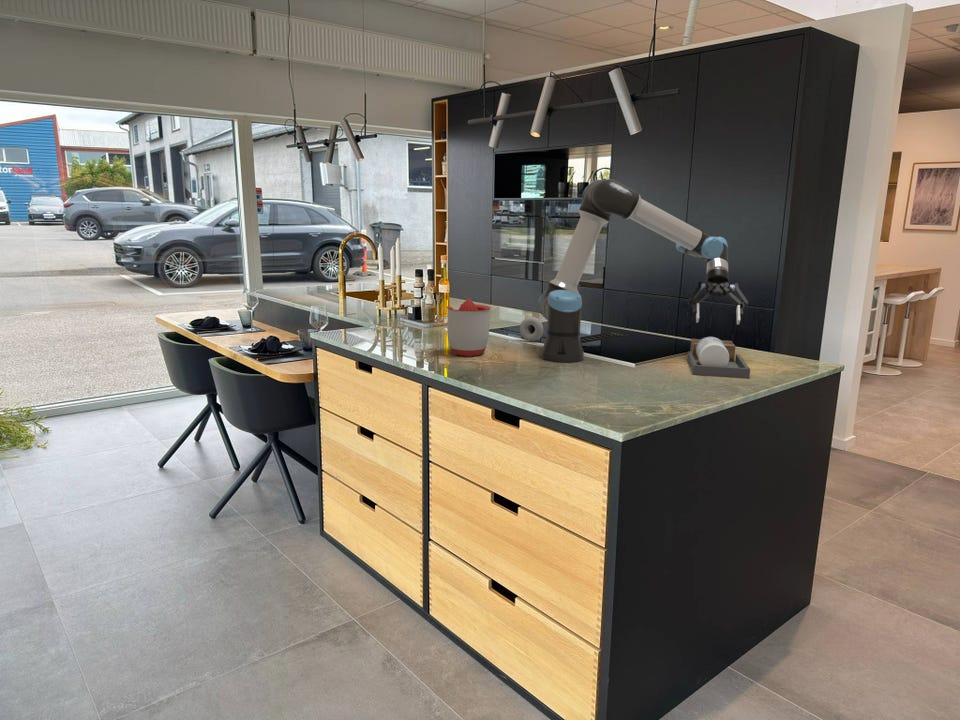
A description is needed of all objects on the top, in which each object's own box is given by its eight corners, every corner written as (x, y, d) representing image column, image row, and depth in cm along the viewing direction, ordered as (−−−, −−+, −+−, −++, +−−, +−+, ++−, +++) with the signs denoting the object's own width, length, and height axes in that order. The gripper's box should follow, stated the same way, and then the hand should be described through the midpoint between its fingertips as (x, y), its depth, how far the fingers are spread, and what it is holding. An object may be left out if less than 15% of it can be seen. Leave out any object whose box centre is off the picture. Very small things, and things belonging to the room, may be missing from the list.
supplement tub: (729, 344, 233) (736, 353, 219) (714, 367, 235) (720, 378, 221) (704, 331, 233) (709, 339, 219) (689, 354, 236) (693, 363, 222)
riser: (689, 354, 250) (691, 338, 249) (729, 356, 247) (731, 340, 246) (692, 360, 241) (693, 343, 239) (733, 363, 238) (735, 346, 237)
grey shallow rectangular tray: (687, 359, 242) (687, 351, 241) (738, 362, 238) (739, 354, 237) (692, 374, 220) (693, 365, 220) (749, 378, 217) (750, 369, 216)
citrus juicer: (465, 346, 257) (466, 294, 253) (498, 354, 245) (499, 299, 241) (434, 352, 247) (434, 297, 242) (467, 360, 235) (467, 302, 230)
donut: (544, 342, 268) (545, 317, 266) (540, 343, 265) (541, 318, 263) (521, 339, 273) (522, 314, 271) (517, 340, 270) (518, 316, 268)
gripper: (751, 281, 247) (753, 329, 236) (680, 279, 253) (679, 325, 242) (755, 268, 241) (758, 316, 230) (682, 266, 246) (681, 313, 236)
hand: (717, 321), depth 236 cm, fingers open, 13 cm apart
